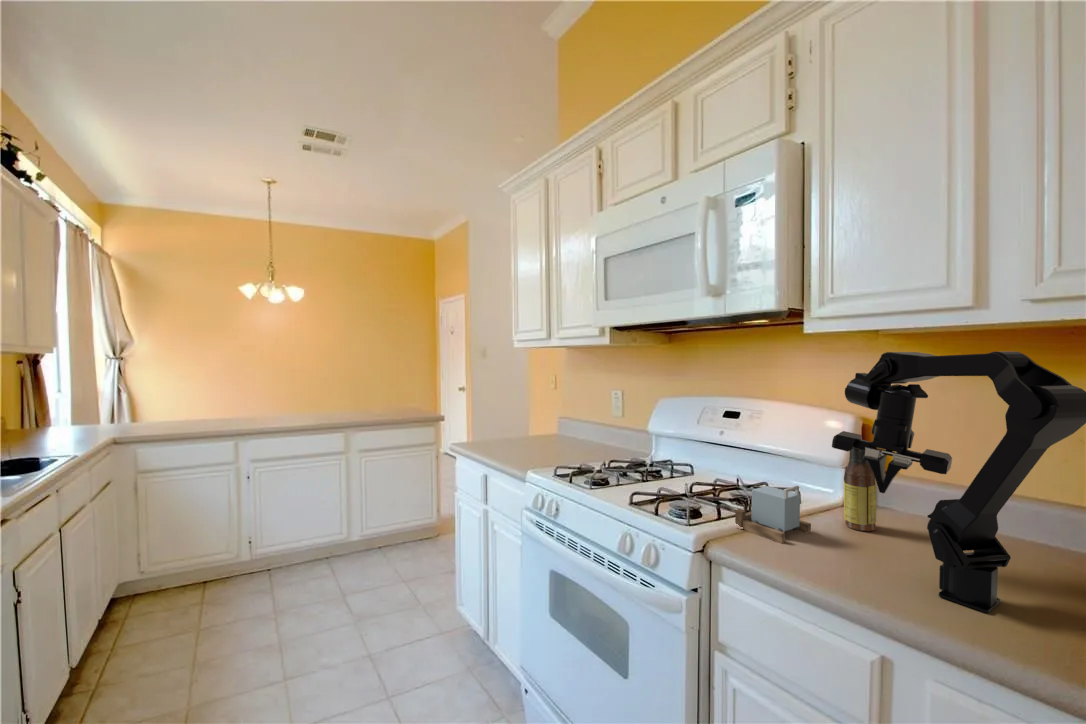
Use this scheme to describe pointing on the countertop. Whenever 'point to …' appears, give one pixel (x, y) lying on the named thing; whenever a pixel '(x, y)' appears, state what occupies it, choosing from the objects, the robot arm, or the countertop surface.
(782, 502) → the cart
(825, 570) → the countertop surface
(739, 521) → the bay
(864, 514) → the sauce bottle
